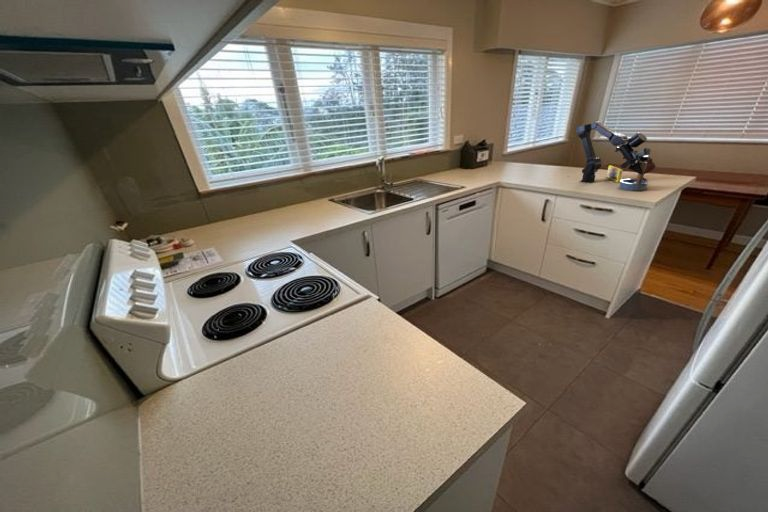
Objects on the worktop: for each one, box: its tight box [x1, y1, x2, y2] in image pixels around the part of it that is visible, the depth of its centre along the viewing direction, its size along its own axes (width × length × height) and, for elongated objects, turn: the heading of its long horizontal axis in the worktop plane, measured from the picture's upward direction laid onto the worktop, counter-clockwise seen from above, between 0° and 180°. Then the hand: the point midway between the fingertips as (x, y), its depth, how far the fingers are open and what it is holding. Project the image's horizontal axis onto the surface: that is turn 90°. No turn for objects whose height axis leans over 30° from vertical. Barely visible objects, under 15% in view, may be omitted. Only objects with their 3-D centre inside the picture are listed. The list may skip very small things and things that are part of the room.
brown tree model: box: [642, 157, 657, 181], centre depth 196 cm, size 11×11×15 cm
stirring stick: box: [634, 162, 647, 184], centre depth 177 cm, size 4×4×13 cm
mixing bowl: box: [618, 178, 649, 192], centre depth 182 cm, size 13×13×4 cm
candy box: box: [606, 165, 624, 183], centre depth 204 cm, size 16×2×8 cm, turn 168°
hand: (643, 173), depth 176 cm, fingers closed on stirring stick, 2 cm apart
